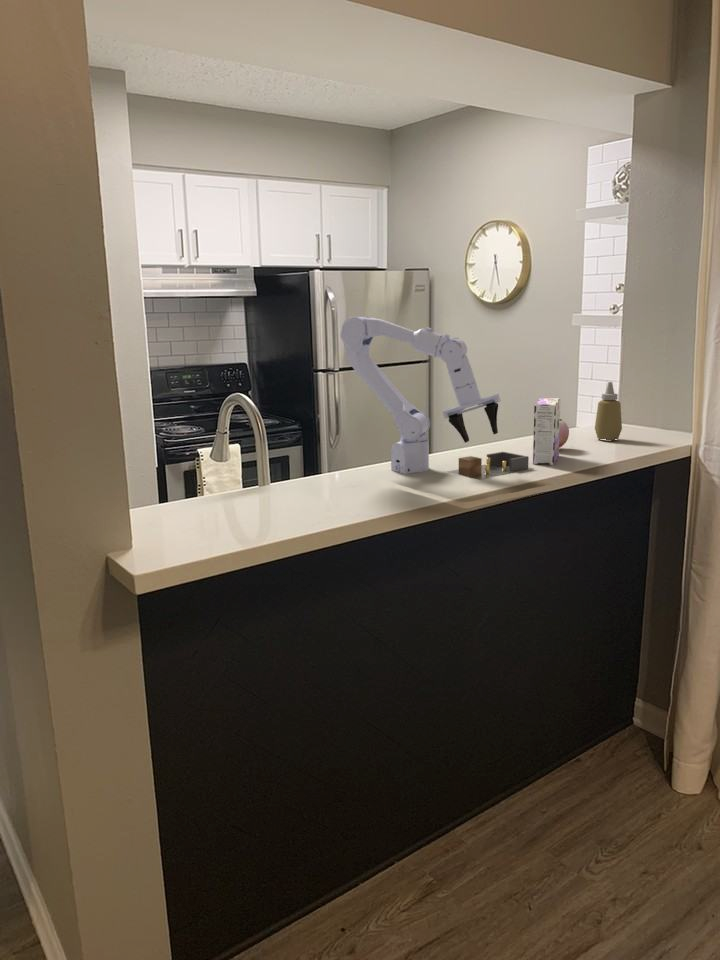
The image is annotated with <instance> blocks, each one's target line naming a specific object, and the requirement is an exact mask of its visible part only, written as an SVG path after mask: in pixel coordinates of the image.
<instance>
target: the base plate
mask: <svg viewBox="0 0 720 960" xmlns="http://www.w3.org/2000/svg"><path fill="white" fill-rule="evenodd" d="M534 469H535V468H534V467H529V466H528V468H526V469H521V470H516V471H510V465H507V464H506V461H502V464H498V465H492V466H490V458H487V457H486V461H485V464H482V470H481V474H480V475H474V476H465V475H461V474H459V468H458V469H455V470H448V471H446V473H451V474H455V475H458V476H463V477H467V478H471V479H475V480H484V479H489V478H494V477H499V476H504V475H509V474H514V473H519V472H520V473H521V472H524V471H525V472H526V471H531V470H534Z"/></svg>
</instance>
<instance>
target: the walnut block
mask: <svg viewBox="0 0 720 960" xmlns="http://www.w3.org/2000/svg"><path fill="white" fill-rule="evenodd" d="M482 460H483V459H482V457H477V456H476V457H475V456H472V455H469V456H464V457H459V458H458V469H459V474H461V475H460V476H462V475H465V476H464V477H466V476H474V475H480V474H481V470H482V465H483V464H482Z"/></svg>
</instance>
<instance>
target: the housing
mask: <svg viewBox="0 0 720 960" xmlns="http://www.w3.org/2000/svg"><path fill="white" fill-rule="evenodd" d="M487 458H490V466H492V465H498V464H502V461H506V464H507V465H510V471H516V470H521V469H526V468H528V467H529V456H528V455H522V454H517V453H512V452H506V451H499V452H494V453H487V454H486V459H487Z"/></svg>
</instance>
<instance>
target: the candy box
mask: <svg viewBox="0 0 720 960" xmlns="http://www.w3.org/2000/svg"><path fill="white" fill-rule="evenodd" d="M533 406H534V411H533V441H532V442H533V444H532V447H533V448H532V464H533V465H542V466H554V465H555V464H556V463H557V459H558V458H559V455H560V448H559V434H560V419H561V398H557V397H556V398H555V397H553V398H552V397H549V398H548V397H547V398H545V397H544V398H543V397H540V398H539V399H538V400H537V402H535V404H534V405H533Z"/></svg>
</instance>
